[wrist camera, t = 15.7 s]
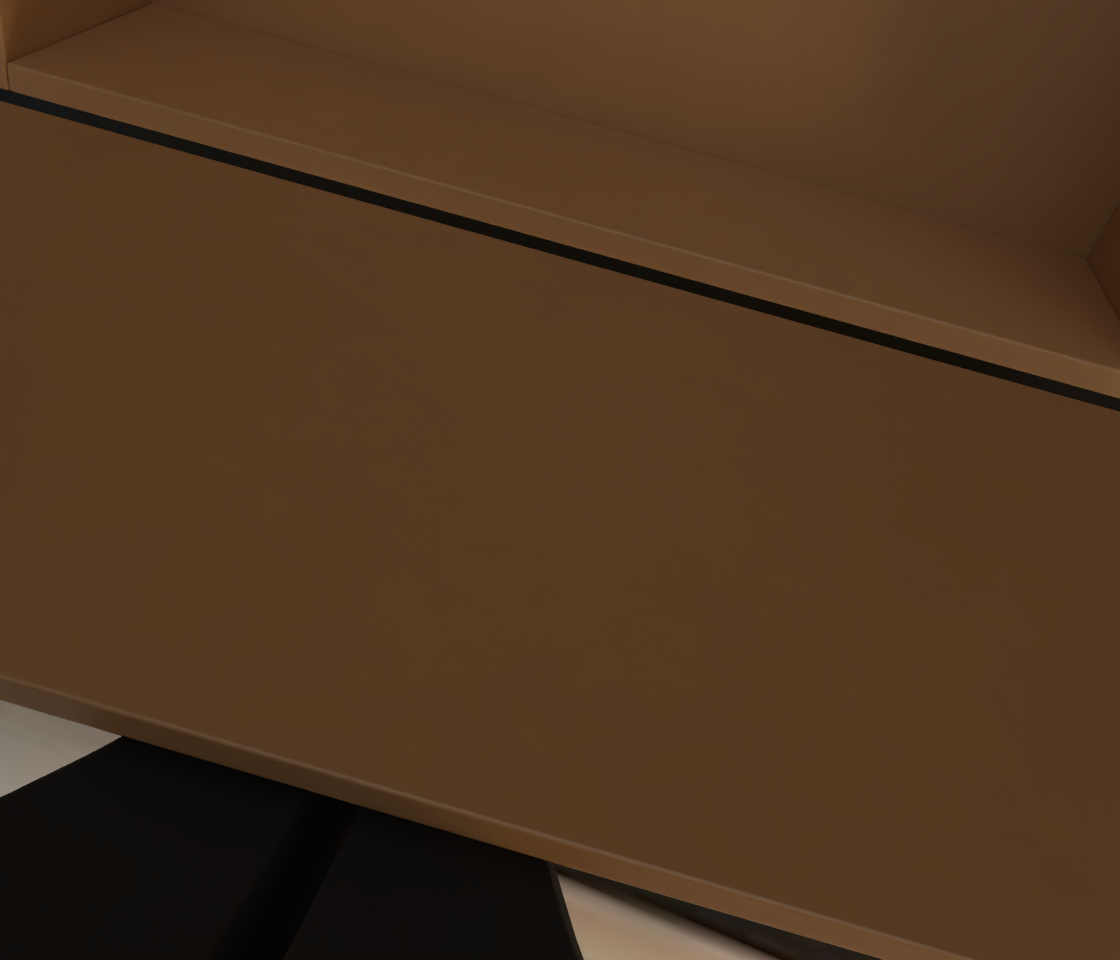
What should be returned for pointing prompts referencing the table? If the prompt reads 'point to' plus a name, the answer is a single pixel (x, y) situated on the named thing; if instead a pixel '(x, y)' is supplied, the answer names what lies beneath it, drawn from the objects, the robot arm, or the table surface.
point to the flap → (556, 556)
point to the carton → (679, 138)
